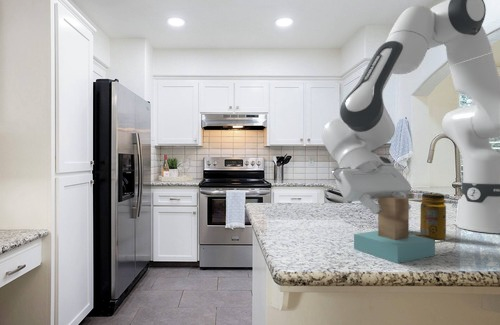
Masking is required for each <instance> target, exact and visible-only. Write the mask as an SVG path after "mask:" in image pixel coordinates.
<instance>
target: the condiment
mask: <svg viewBox="0 0 500 325" xmlns="http://www.w3.org/2000/svg"><path fill="white" fill-rule="evenodd" d="M421 196H422V199H421V204H420V220H419V221H420V224H419V226H420V231H419V234H415V235H416V236H420V237H425V238H429V239H434V240H440V241H435V244H436V243H440V242H444V241H448V240H449V241H450V240H452V239H453V238H452V237H449V236H447V234H446V233H447V207H446V204H445V195H444V194H441V193H422V195H421Z"/></svg>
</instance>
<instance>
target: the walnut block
mask: <svg viewBox="0 0 500 325" xmlns="http://www.w3.org/2000/svg"><path fill="white" fill-rule="evenodd" d="M409 202H410V201H409V197H406V198H404V197H395V196H387V197H378V199H377V204H379V205H380V207H381V208H382V212H380V214H377V216H378V219H377V220H378V222H377V224H378V225H377V227H378V228H377V231H378V236H381V237H385V238H389V239H393V240H398V239H405V238H409V234H410V233H409V228H410V226H409V220H410V219H409V218H410V216H409V211H410V209H409V205H410V204H409Z"/></svg>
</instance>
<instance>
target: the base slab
mask: <svg viewBox="0 0 500 325" xmlns="http://www.w3.org/2000/svg"><path fill="white" fill-rule="evenodd" d="M416 235H417V234H412V233H411V234H410V233H409V238H405V239H398V240H393V239H389V238H385V237H381V236H378V230H376V231H368V232H359V233H353V249H354V250H356V251H358V252H359V251H360V252H362V253H365V254H369V255H372V256H375V257H378V258H381V259H383V260H386V259H387V261H389V262H393V263H396V264H400V262H401V263H406V262H410V261H416V260H420V259H425V257H426V258H430V256H431V257H435V256H436V242H435V240H434V239H429V238H425V237H420V236H416ZM434 255H435V256H434Z"/></svg>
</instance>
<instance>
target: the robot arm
mask: <svg viewBox="0 0 500 325" xmlns="http://www.w3.org/2000/svg"><path fill="white" fill-rule="evenodd" d="M486 11H487V8H486V4H485V1H484V0H444V1H441V2H439V3H437V4H435V5H434V6H432V7H431V8H428V7H427V6H424V5H413V6H410V7H407V8H406V9H404V11H402V12H401V14H400V15H399V16H398V18H397V19H396V21H395V22H394V24H393V25H392V28H391V29H390V31H389V33H388V36H387V38H386V40H385V42H384V43H383V44H381V45H380V46H379V47H378V48H377V50H376V51H375V52H374V55H373V56H372V58H371V60H370V61H369V63H368V65H367V67H366V68H365V70H364V72H363V74H362V75H361V77H360V79H359V81H358V82H357V83H356V85H355V86H354V88H353V89H352V90H351V91H350V92H349V93H348V94H347V96H345V98H344V99H343V101H342V102H341V105H340V109H339V115H340V118H333V119H331V120H330V121H328V122H327V123H326V125H325V126H324V127H323V129H322V133H321V137H322V142H323V145H324V146H325V148H326V150H327V151H328V153H329V154H330V156H331V158H332V159H333V160H335V161H336V162H337V165H338V166H337V167H334V168H333V170H332V172H331V174H332V176H333V178H334V180H335V184H336V186H337V188H338V190H339V192H340V194H341V196H342V198H343V199H344V200H346V201H348V202H357V201H359V202H360V203H361V204H362V205H363V206H364V207H366V208H367V209H369V210H370V212H371V213H372V214H373V215H378V214H380V212H382V208H381V207H380V205H379V204H378V203H377V202H375V200H378V197H387V196H395V197H404V198H407V195H409V193H410V192H411V191H412V185H411V183H410V182H409V181H408V180H407V178H406V177H405V176H404V175H403V173H402V172H401V171H400V170H399V169H398V168H396V167H395V166H394V167H392V166H393V165H395V163H394V161H393V160H391V158H387V157H384V156H381V155H378V154H376V153H375V152H373V151H375V150H377V149H379V148H381V147H382V146H384V145H386V144H388V143H389V142H390V141H391V140H392V138H393V137H394V134H395V131H396V130H395V129H396V128H395V124H394V122H393V119H392V117H391V116H390V114H389V112H388V110H387V108H386V106H385V102H384V95H383V94H384V90H385V88H386V86H387V84H388V83H389V80H390V78H391V76H392V75H394V74H395V75H405V74H406V75H407V74H409V73H412V72H414V71H416V70H417V69H418V68H419V67H420V65H421V63H422V62H423V61H424V58H425V57H426V54H427V52H428V50H430V49H432V48H436V47H439V46H443V45H444V47H445V50H446V52H445V53H446V58H447V59H446V60H447V63H448V66H449V72H450V75H451V76H450V77H451V80H452V84H453V87H454V90H455V91H456V92H458V94H459V93H460V94H462V95H466V96H467V97H469V99H471V100H472V101H473V103H474V104H473V105H472V104H471V105H466V106H465V105H464V106H461V107H458V108H456V109H453V110H451V111H448V112H447V113H446V114H445V115H444V116H443V118H442V121H441V129H442V131H443V133H444V135H445V136H446V137H448V138H449V139H450V140H452V142H454V144H455V145H456V147H457V149H458V150H459V154H460V156H461V160H462V162H461V163H462V182H461V184H460V185H461V186H460V189H461V190H460V192H461V193H460V194H462V196H461V197H460V198H459V199H458V200H457V208H456V219H455V220H452V224H453V225H455V226H456V227H457V228H460V229H463V230H468V231H472V232H479V233H480V232H481V233H488V234H489V233H490V234H500V152H499V151H497V150H495V149H494V148H493V147H492V145H491V143H490V139H495V138H500V75H499V72H498V69H497V65H496V61H495V58H494V54H493V50H492V46H491V43H490V39H489V38H488V35H487V32H486V30H485V29H484V27H483V23H484V20H485V17H486ZM411 208H412V207H411V204H409V210H410V209H411Z"/></svg>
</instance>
